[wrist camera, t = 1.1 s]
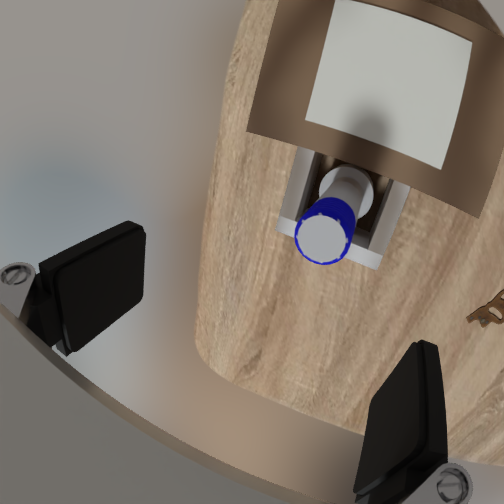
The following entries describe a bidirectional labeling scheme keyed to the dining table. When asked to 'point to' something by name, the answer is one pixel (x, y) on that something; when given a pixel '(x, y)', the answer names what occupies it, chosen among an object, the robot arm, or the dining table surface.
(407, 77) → the lid mat
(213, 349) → the dining table surface
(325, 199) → the bolt
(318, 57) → the wooden box
